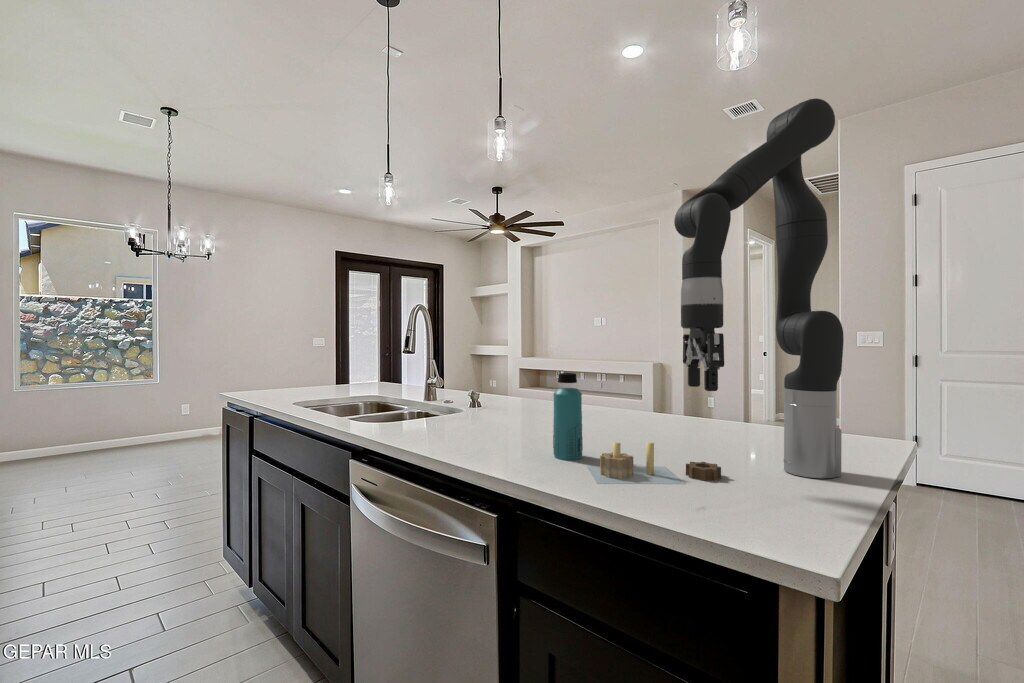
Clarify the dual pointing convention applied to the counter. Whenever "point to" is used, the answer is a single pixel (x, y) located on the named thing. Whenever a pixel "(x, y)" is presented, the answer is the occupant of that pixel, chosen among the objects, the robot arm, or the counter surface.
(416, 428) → the counter surface
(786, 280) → the robot arm
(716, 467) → the walnut gear
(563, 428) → the beverage bottle
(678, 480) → the gear board
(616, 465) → the beech gear
